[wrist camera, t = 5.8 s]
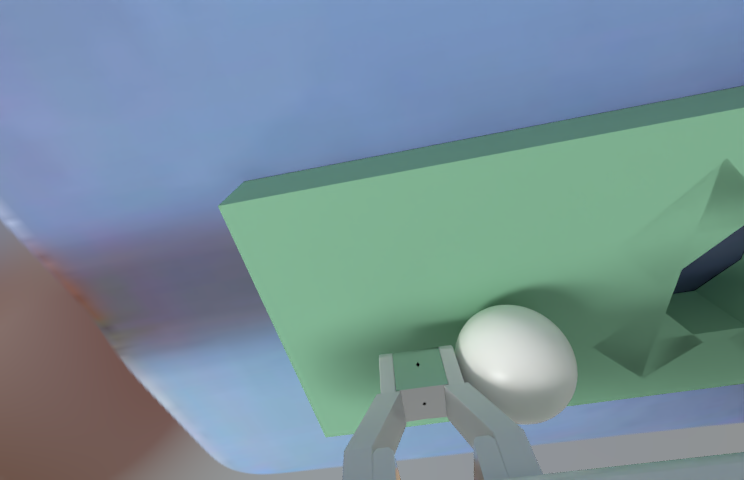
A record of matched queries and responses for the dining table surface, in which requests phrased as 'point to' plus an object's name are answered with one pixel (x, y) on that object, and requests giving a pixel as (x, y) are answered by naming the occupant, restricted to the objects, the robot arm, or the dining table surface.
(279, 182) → the putting mat
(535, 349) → the ball
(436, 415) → the robot arm
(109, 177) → the dining table surface
